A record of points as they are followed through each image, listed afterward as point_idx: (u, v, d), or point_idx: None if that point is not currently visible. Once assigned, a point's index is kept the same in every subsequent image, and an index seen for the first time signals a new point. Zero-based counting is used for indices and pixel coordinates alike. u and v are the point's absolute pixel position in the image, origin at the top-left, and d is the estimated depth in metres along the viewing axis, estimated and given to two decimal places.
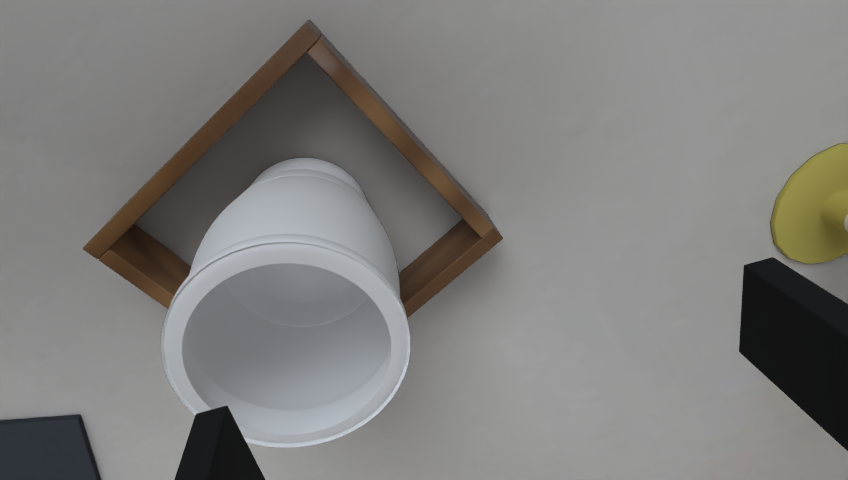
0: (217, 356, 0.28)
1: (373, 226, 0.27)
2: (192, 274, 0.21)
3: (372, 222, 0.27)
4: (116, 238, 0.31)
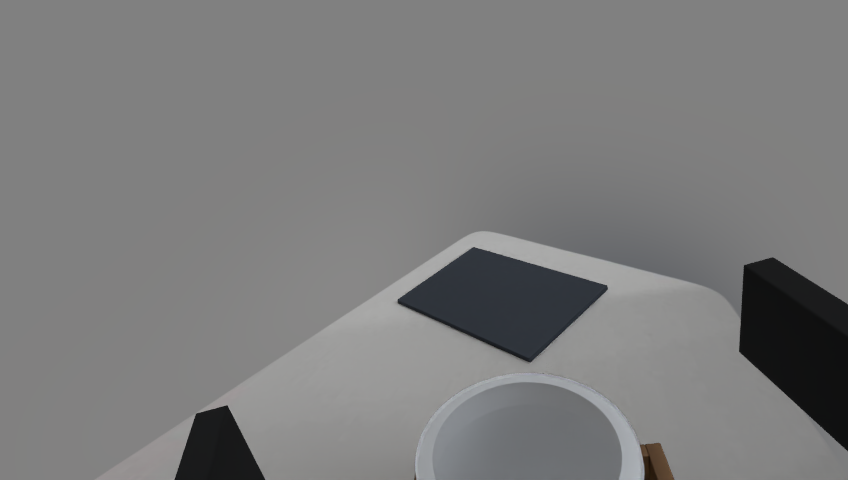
0: (535, 429, 0.32)
1: None
2: None
3: None
4: (654, 466, 0.35)
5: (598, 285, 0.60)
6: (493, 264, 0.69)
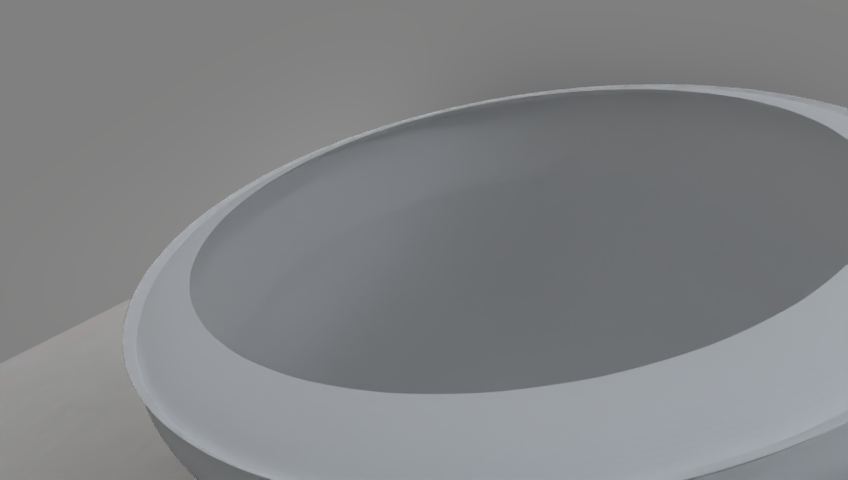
0: (532, 258, 0.14)
1: None
2: None
3: None
4: None
5: None
6: None
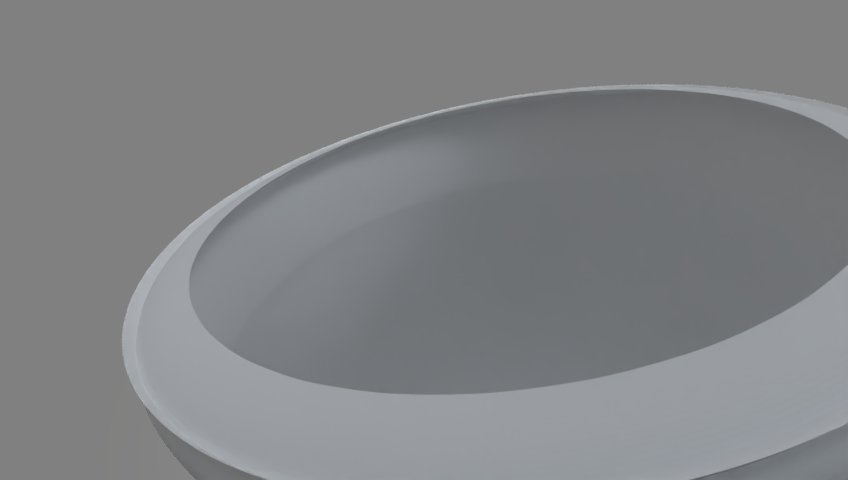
0: (532, 258, 0.14)
1: None
2: None
3: None
4: None
5: None
6: None
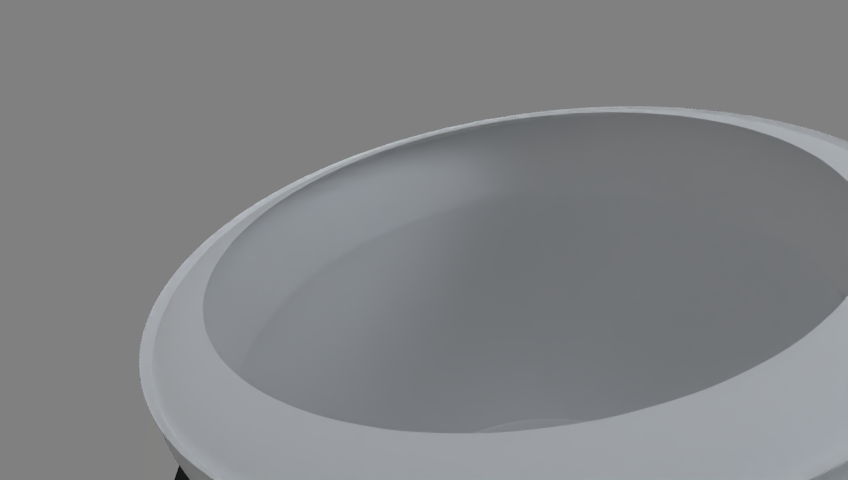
0: (533, 272, 0.14)
1: None
2: None
3: None
4: None
5: None
6: None
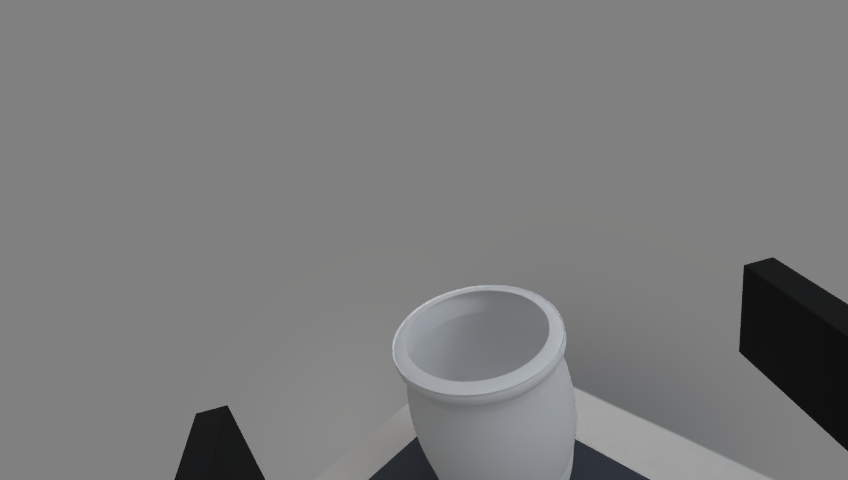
0: (493, 335, 0.39)
1: (492, 462, 0.30)
2: None
3: (494, 467, 0.31)
4: None
5: None
6: None
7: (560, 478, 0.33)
